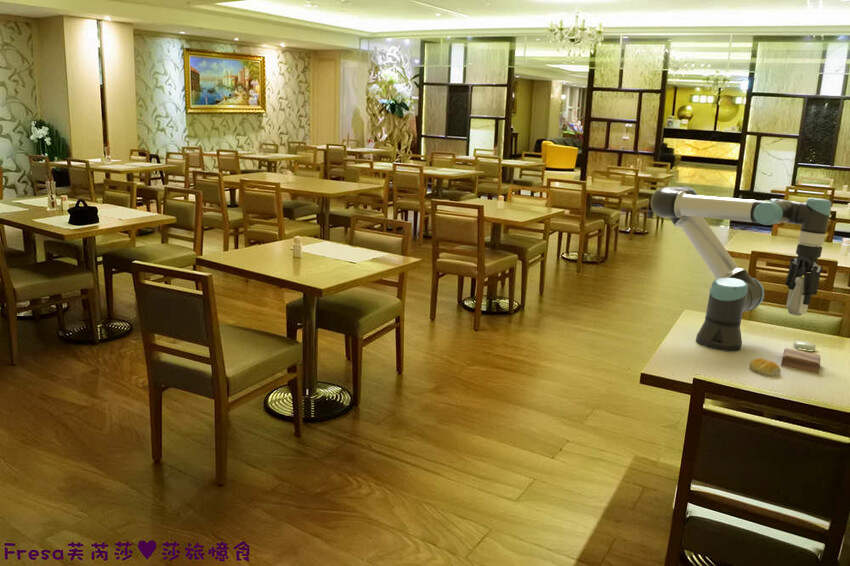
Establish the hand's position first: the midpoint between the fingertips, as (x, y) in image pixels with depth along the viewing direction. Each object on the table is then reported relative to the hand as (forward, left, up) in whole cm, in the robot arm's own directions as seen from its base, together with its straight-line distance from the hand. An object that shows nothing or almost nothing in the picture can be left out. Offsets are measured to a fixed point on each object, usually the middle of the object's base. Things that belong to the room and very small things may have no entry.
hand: (795, 310), depth 242 cm
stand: (-4, -11, -16) cm, 20 cm away
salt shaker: (0, 0, -2) cm, 2 cm away
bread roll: (-23, -15, -16) cm, 32 cm away
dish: (+12, +5, -16) cm, 21 cm away
